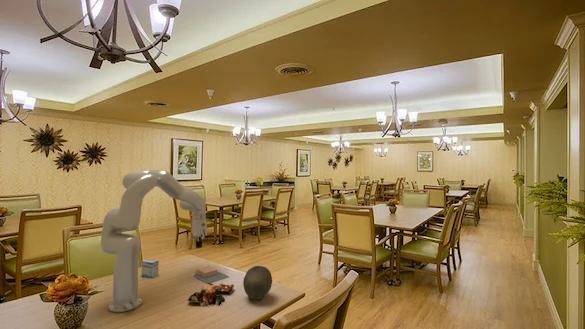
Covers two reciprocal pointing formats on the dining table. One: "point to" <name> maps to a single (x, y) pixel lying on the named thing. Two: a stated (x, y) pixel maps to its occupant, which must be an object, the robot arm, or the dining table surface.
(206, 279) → the mat
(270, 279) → the dark round vase
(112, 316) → the dining table surface
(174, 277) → the dining table surface
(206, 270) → the tile
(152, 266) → the medicine box
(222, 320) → the dining table surface
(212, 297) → the food
